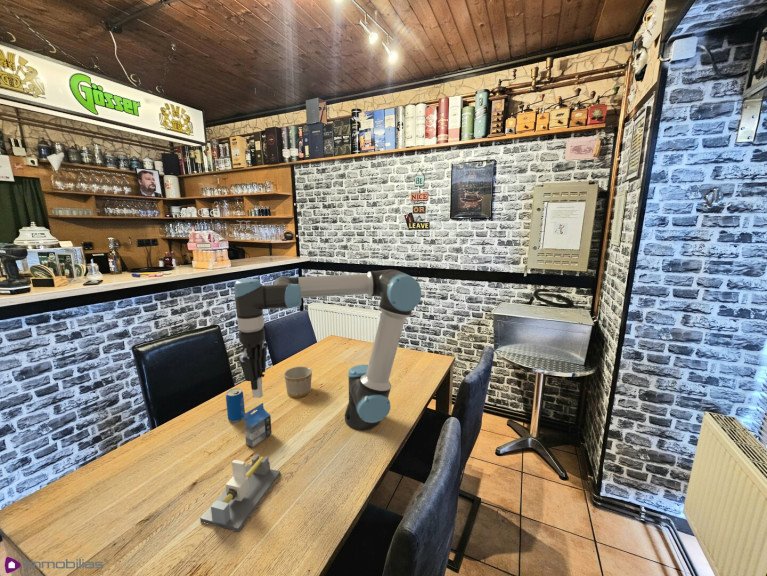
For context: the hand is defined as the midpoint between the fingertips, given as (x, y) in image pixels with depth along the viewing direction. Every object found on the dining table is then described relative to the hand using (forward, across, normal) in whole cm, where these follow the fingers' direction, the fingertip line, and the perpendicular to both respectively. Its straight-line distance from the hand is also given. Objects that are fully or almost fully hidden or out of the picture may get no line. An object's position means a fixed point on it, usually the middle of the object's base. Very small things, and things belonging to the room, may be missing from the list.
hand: (257, 396), depth 103 cm
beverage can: (+24, -18, -24) cm, 39 cm away
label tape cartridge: (+24, -9, -7) cm, 27 cm away
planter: (+24, -43, -8) cm, 50 cm away
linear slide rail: (+24, +15, +3) cm, 28 cm away
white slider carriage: (+21, +17, +3) cm, 27 cm away
